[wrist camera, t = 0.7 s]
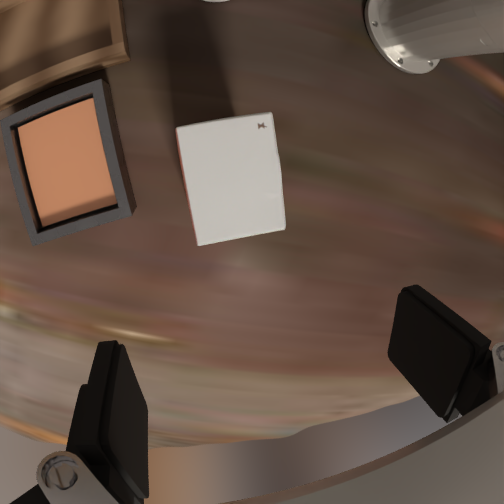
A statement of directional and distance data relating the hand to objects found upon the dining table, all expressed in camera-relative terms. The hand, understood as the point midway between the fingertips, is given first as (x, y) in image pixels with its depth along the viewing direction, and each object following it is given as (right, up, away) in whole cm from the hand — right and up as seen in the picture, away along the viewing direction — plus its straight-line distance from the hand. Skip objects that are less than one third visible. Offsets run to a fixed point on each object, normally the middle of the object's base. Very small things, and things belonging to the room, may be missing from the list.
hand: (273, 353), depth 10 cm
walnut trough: (-21, +26, +13) cm, 36 cm away
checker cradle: (-19, +12, +18) cm, 29 cm away
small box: (-5, +12, +22) cm, 26 cm away
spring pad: (-18, +12, +17) cm, 28 cm away
